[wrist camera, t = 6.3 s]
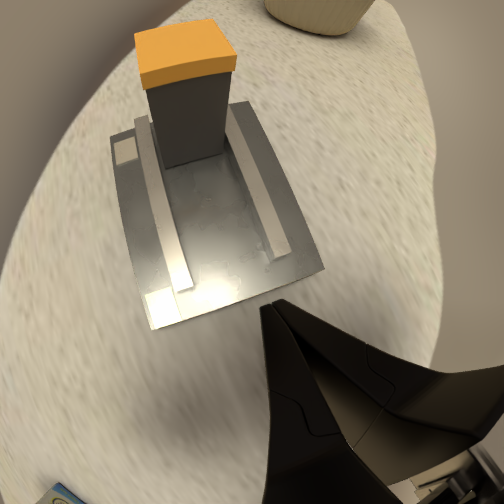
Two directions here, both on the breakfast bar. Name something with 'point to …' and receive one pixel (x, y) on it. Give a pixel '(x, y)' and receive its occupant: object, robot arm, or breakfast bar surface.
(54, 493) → the medicine box
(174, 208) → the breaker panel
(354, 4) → the canister
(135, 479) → the breakfast bar surface
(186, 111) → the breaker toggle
